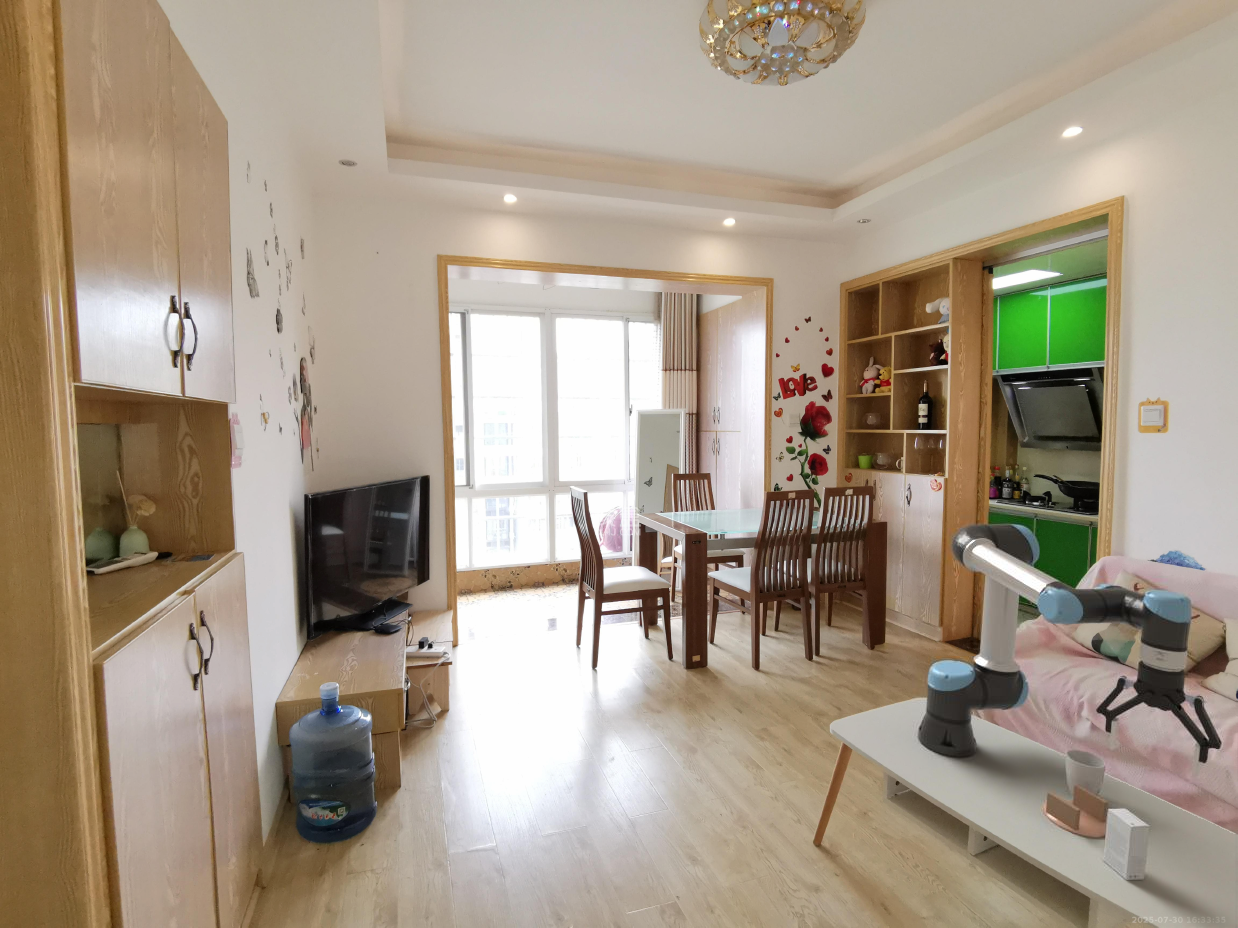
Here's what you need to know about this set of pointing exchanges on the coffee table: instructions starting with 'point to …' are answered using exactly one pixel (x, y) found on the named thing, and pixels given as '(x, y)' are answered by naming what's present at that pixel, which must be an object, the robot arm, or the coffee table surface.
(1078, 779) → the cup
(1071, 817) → the napkin holder
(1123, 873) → the skincare box
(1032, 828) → the coffee table surface
